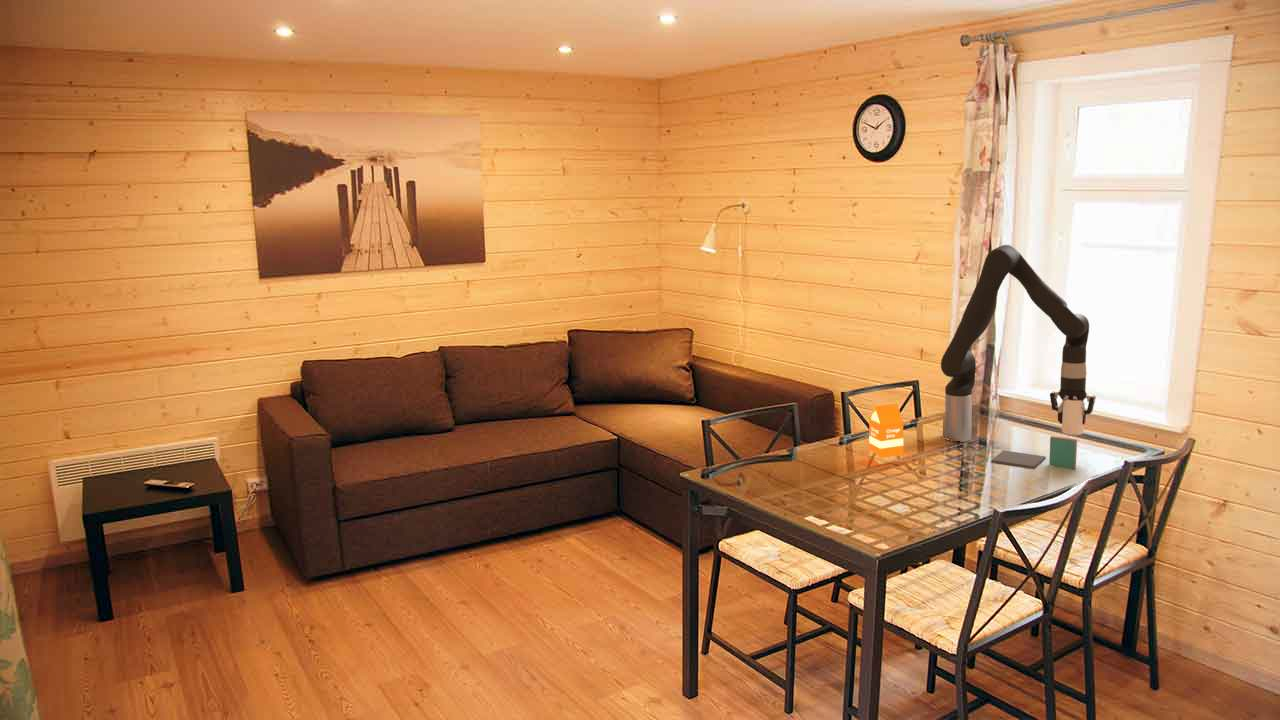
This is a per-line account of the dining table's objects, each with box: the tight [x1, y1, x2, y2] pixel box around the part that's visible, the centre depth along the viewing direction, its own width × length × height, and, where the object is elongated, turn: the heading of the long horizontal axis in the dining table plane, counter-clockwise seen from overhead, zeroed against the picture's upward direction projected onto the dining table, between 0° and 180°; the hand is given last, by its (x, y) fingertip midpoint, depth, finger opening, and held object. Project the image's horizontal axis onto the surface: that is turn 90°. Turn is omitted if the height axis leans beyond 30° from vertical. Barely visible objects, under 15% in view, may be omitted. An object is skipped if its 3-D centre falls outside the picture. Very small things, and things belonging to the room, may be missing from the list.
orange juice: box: [868, 403, 904, 458], centre depth 312 cm, size 8×9×20 cm
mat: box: [991, 450, 1047, 470], centre depth 306 cm, size 14×12×1 cm
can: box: [1061, 399, 1086, 436], centre depth 300 cm, size 6×6×12 cm
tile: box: [1048, 435, 1078, 470], centre depth 296 cm, size 8×1×10 cm, turn 50°
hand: (1071, 424), depth 301 cm, fingers closed on can, 5 cm apart
